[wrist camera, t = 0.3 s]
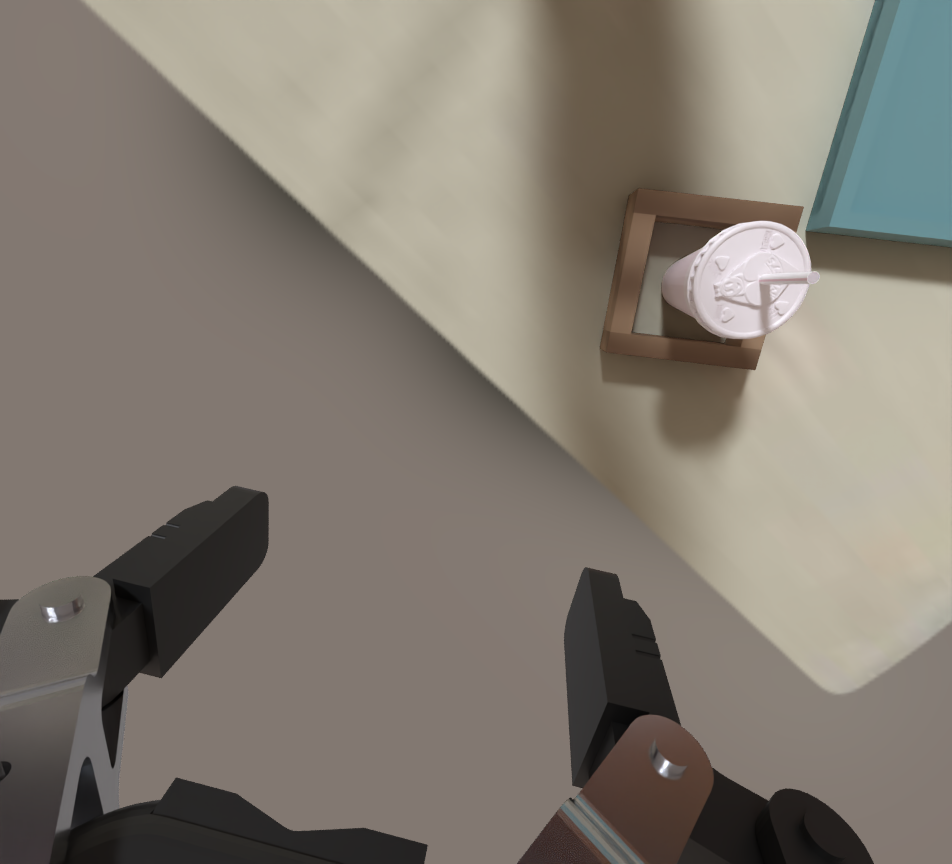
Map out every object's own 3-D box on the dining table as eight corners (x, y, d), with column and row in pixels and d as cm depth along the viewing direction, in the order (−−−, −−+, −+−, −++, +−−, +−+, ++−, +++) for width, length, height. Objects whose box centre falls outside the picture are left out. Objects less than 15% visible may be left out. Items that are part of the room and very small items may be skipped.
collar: (629, 195, 33) (638, 188, 31) (782, 212, 33) (803, 206, 31) (599, 348, 37) (606, 352, 34) (738, 364, 36) (755, 369, 34)
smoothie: (734, 315, 35) (875, 331, 22) (649, 336, 36) (735, 364, 23) (725, 227, 34) (873, 186, 20) (636, 251, 34) (722, 228, 21)
